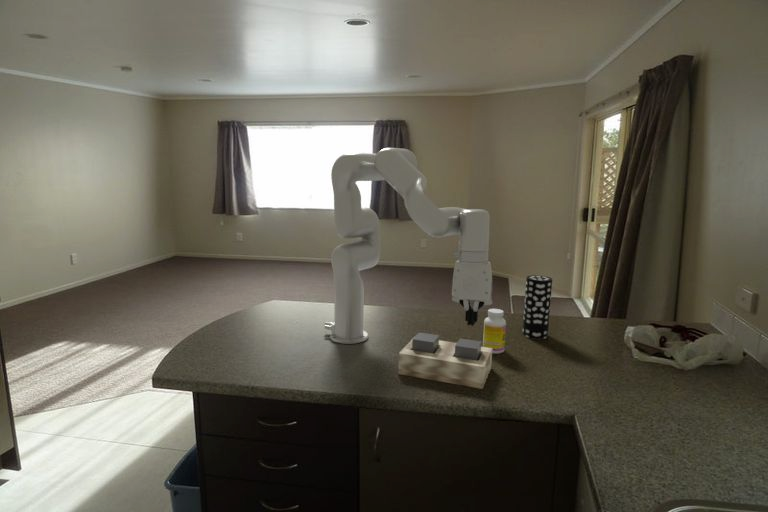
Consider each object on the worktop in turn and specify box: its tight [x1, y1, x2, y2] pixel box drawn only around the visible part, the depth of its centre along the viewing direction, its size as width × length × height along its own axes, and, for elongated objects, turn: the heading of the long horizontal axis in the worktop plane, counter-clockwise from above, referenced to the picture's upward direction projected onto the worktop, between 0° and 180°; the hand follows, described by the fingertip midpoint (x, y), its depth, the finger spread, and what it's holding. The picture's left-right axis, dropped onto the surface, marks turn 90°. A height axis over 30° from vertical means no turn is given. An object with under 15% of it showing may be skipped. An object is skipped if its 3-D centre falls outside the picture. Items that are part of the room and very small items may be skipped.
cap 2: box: [455, 338, 483, 361], centre depth 130 cm, size 6×6×4 cm
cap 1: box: [411, 332, 440, 354], centre depth 134 cm, size 6×6×4 cm
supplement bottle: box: [482, 308, 507, 355], centre depth 148 cm, size 7×7×13 cm
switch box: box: [397, 339, 493, 390], centre depth 133 cm, size 23×14×6 cm, turn 69°
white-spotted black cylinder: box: [522, 274, 553, 340], centre depth 162 cm, size 8×8×20 cm
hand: (471, 323), depth 128 cm, fingers closed
